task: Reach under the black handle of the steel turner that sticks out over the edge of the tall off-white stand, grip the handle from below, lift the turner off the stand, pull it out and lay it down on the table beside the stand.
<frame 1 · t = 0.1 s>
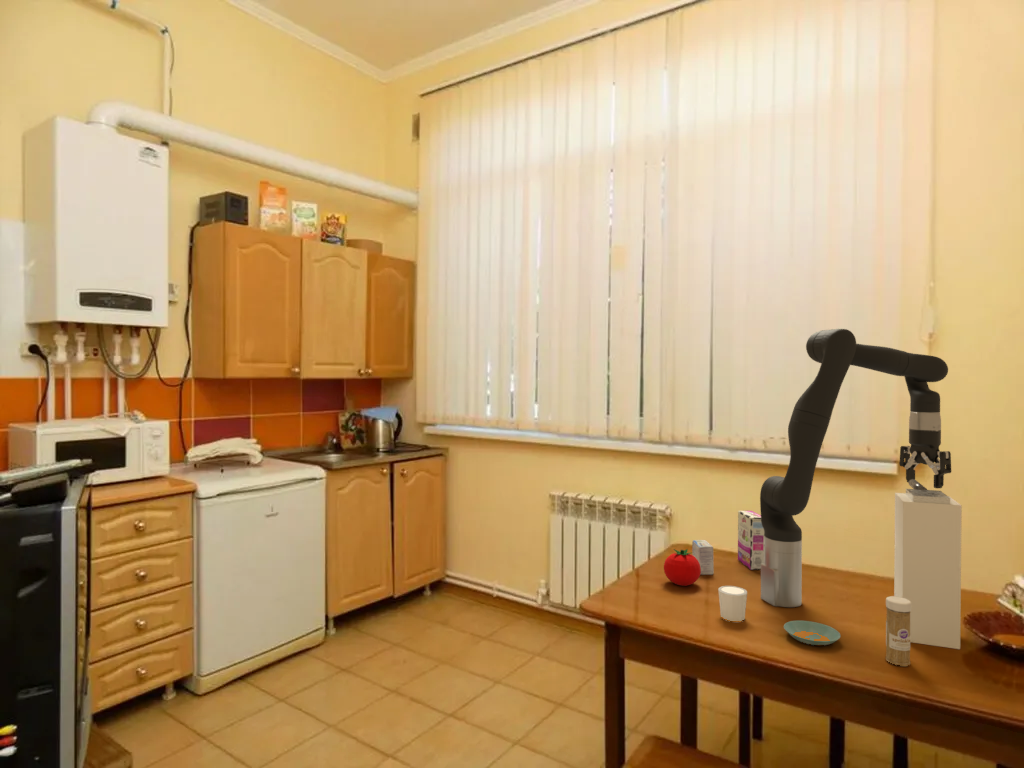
hand: (924, 485, 174), 29 cm above the table, tool pointing down, fingers open, 8 cm apart
tomato: (682, 585, 179), on the table
medicine box: (702, 571, 192), on the table
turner: (926, 498, 143), point 32 cm above the table, touching stand
stand: (925, 635, 144), on the table
saucer: (811, 640, 143), on the table
sprinkles bottle: (897, 663, 131), on the table
candy bar box: (751, 565, 197), on the table
white cup: (732, 618, 155), on the table
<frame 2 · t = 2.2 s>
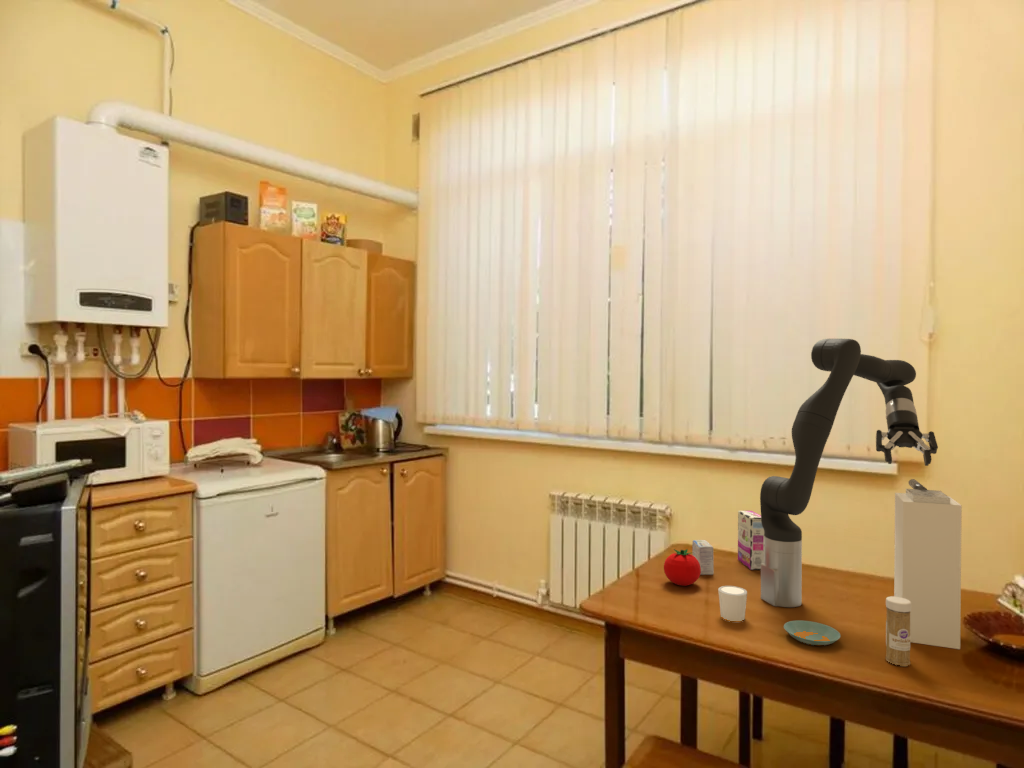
hand: (908, 463, 167), 37 cm above the table, tool tilted 45°, fingers open, 8 cm apart
nothing on the table moved.
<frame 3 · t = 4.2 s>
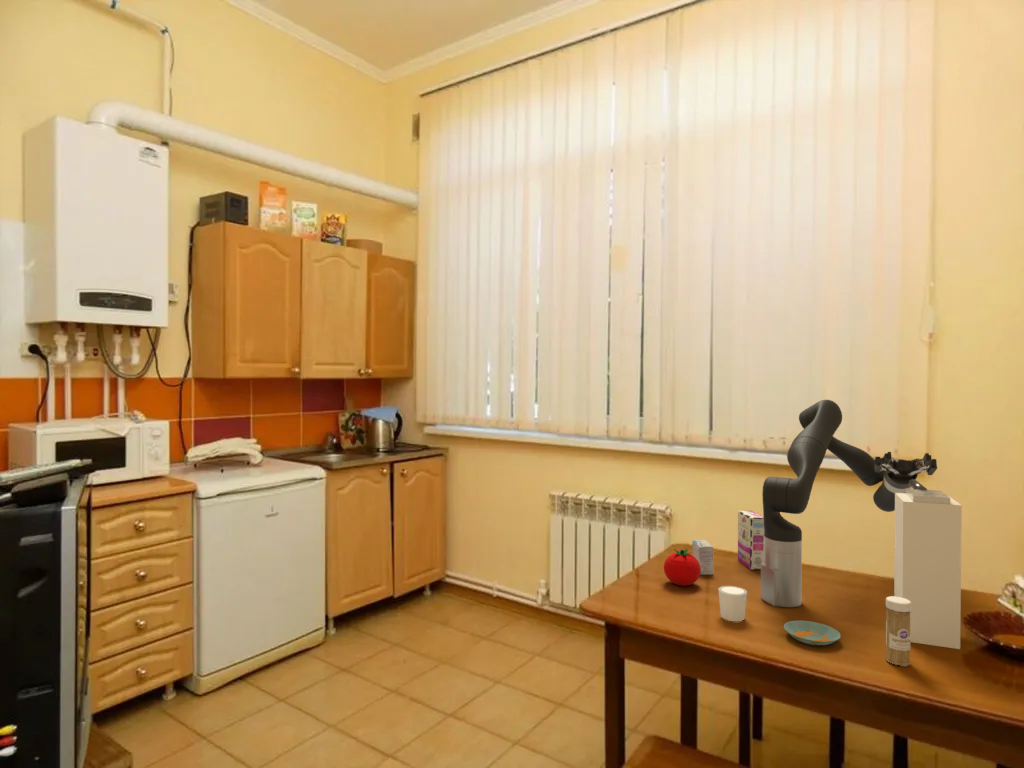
hand: (908, 455, 164), 39 cm above the table, tool pointing upward, fingers open, 8 cm apart
nothing on the table moved.
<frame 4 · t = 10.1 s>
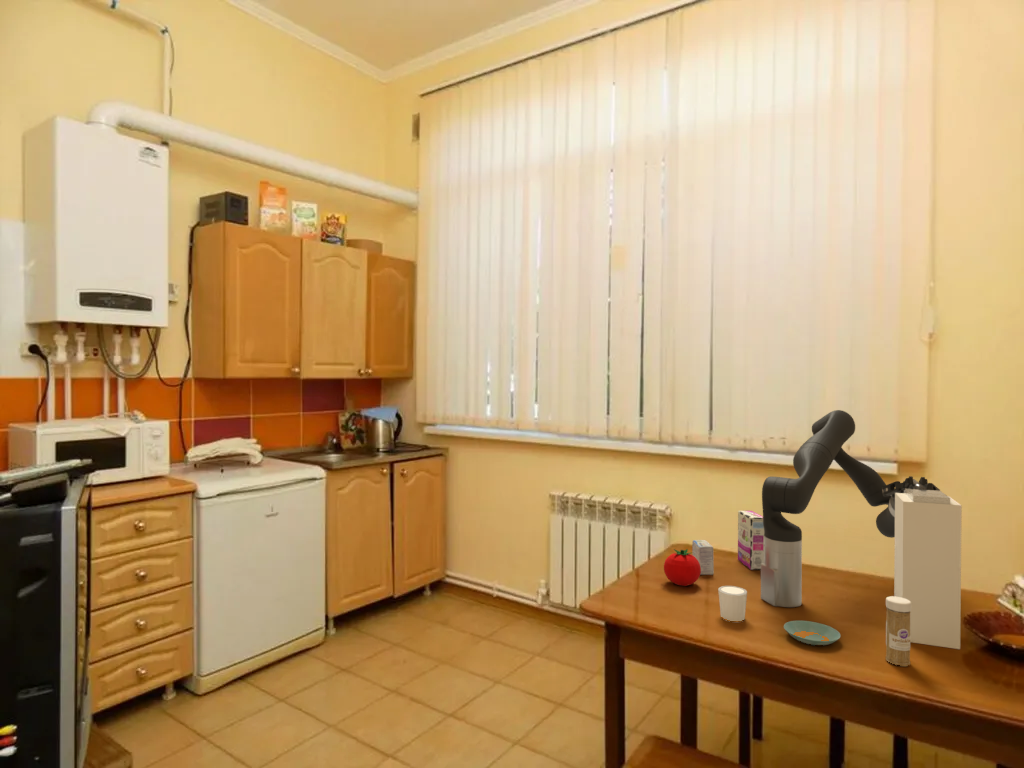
hand: (917, 480, 153), 35 cm above the table, tool pointing upward, fingers closed on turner, 2 cm apart
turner: (926, 498, 143), point 32 cm above the table, touching gripper, stand
everything else where it was.
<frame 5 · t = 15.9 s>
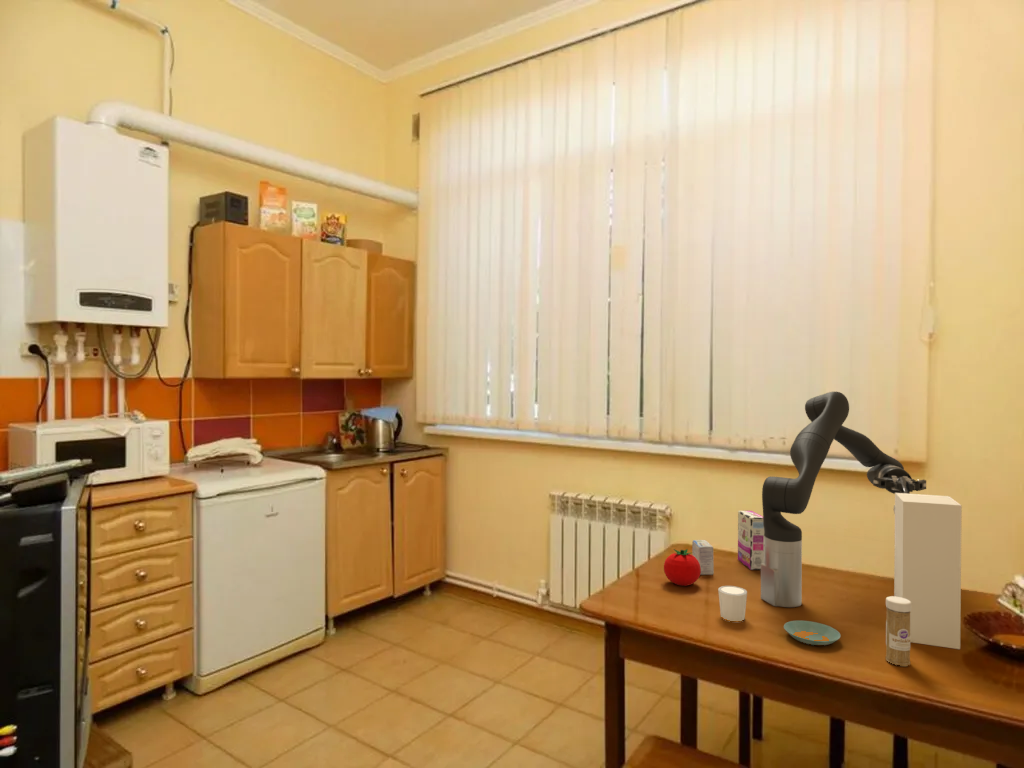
hand: (905, 487, 167), 30 cm above the table, tool horizontal, fingers closed on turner, 2 cm apart
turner: (911, 520, 160), point 23 cm above the table, tilted 28°, touching gripper
everything else where it was.
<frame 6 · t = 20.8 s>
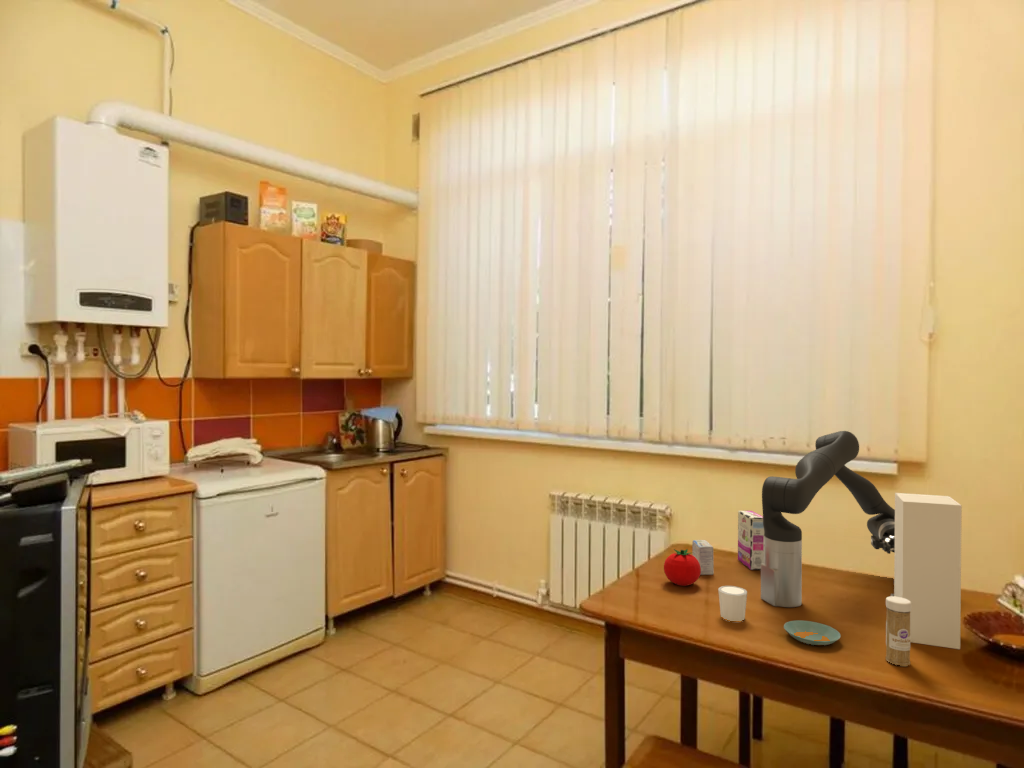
hand: (904, 551, 168), 13 cm above the table, tool horizontal, fingers open, 6 cm apart
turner: (908, 605, 162), on the table
everything else where it was.
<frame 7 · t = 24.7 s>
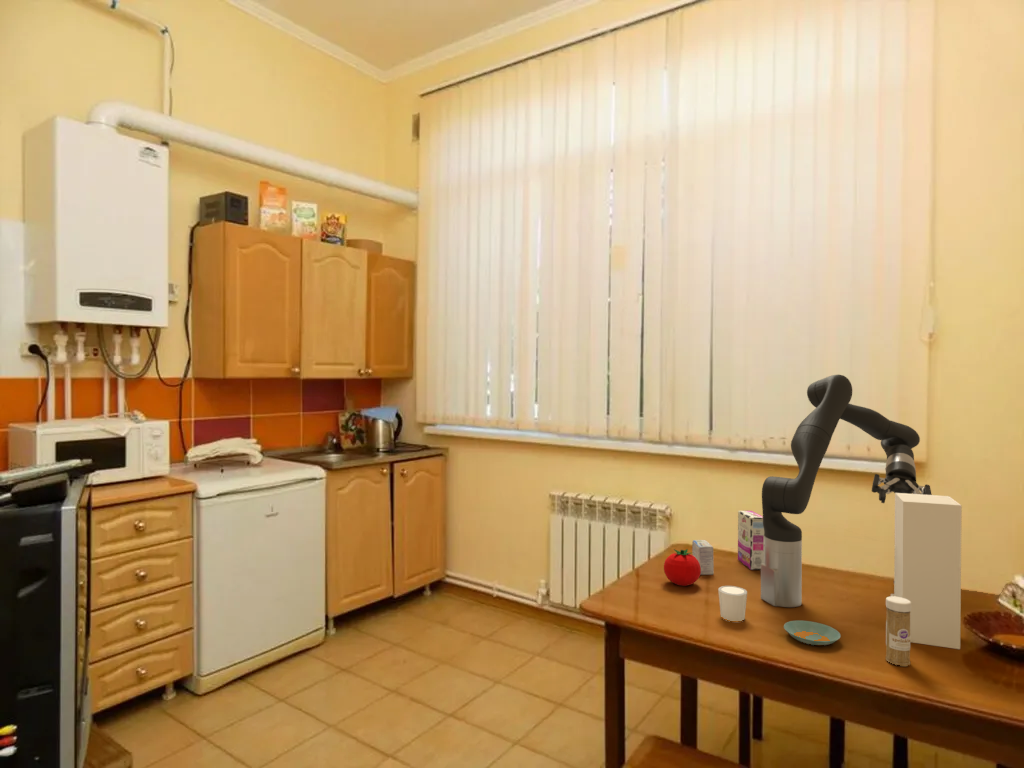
hand: (901, 504, 170), 25 cm above the table, tool tilted 65°, fingers open, 8 cm apart
nothing on the table moved.
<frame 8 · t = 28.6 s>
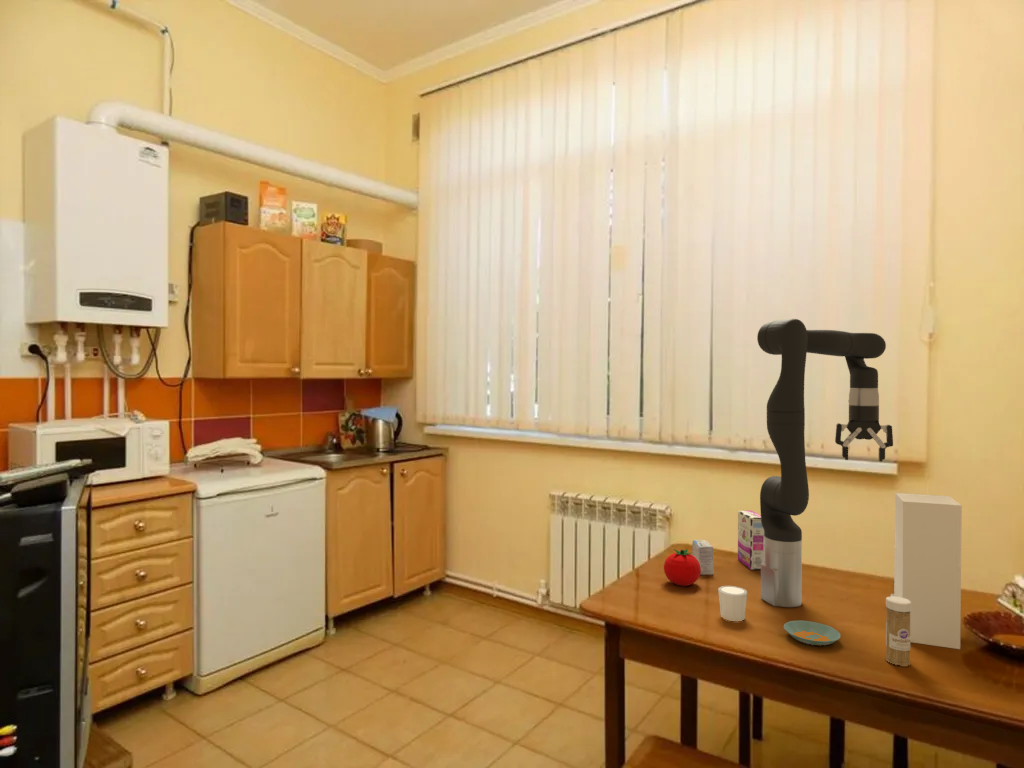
hand: (863, 460, 177), 36 cm above the table, tool pointing down, fingers open, 8 cm apart
nothing on the table moved.
at the end: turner on the table; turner touching table; the gripper is holding nothing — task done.
